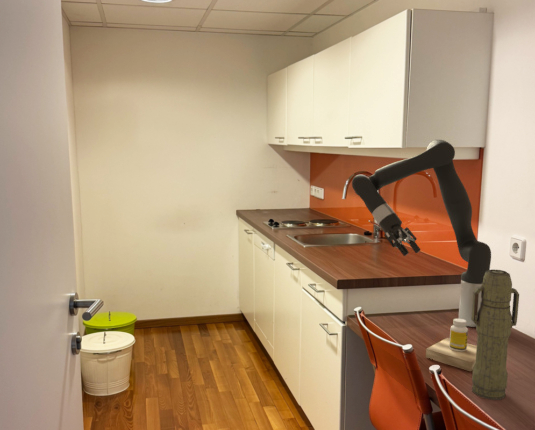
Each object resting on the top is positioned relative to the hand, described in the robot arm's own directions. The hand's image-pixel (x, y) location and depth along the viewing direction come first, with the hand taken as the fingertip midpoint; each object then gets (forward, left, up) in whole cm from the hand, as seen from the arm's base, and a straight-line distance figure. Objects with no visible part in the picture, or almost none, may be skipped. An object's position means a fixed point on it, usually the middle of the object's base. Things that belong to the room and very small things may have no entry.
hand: (412, 253), depth 190 cm
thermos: (+26, +40, -31) cm, 57 cm away
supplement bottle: (+8, +22, -28) cm, 37 cm away
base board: (+8, +23, -31) cm, 39 cm away
